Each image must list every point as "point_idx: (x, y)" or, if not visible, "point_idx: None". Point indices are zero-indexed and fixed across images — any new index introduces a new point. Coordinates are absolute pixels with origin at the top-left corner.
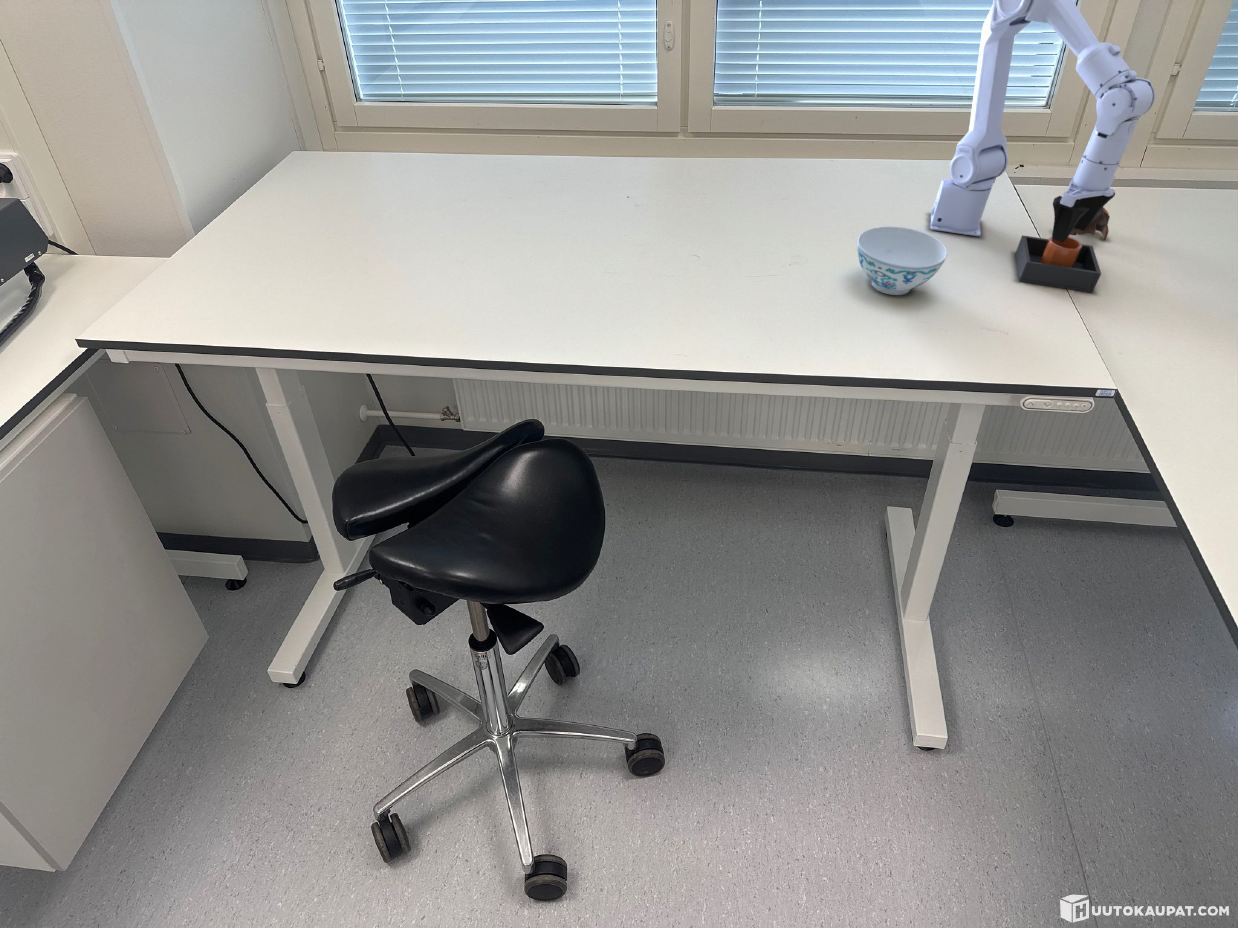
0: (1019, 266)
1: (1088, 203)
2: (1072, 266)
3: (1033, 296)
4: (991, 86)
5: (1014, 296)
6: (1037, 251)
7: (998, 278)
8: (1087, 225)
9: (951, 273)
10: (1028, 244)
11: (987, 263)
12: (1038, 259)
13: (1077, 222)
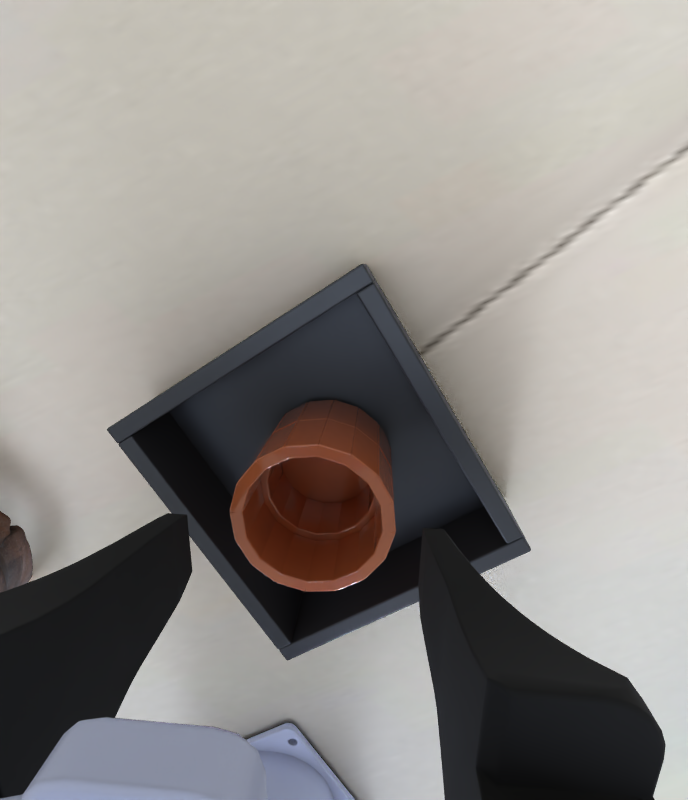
0: None
1: (91, 683)
2: (318, 409)
3: (586, 412)
4: None
5: (643, 460)
6: None
7: (539, 559)
8: (167, 529)
9: (630, 673)
10: (286, 608)
11: None
12: None
13: (175, 582)
